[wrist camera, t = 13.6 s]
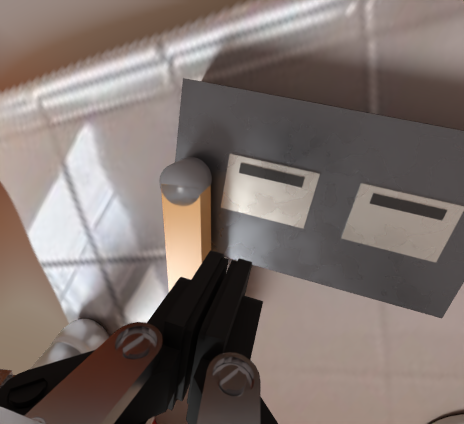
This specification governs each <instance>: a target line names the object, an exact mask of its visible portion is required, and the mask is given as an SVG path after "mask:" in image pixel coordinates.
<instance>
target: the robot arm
mask: <svg viewBox="0 0 464 424" xmlns="http://www.w3.org/2000/svg"><path fill="white" fill-rule="evenodd" d="M227 265H228V259H226V258H224V254H222V253H219V252H215V251H212V250H210V251H209V253H208V255H207V256H206V258H205V259H204V261H203V262H202V264H201V265H200V267H199V268H198V270H197V272H196V273H195V275H194V276H193V278H192V279H191V280H190V279H187V278H184V277H180V278H179V279H178V280H177V282H176V283H175V285H174V286H173V287H172V289H171V290H170V292H169V293H168V294H167V296H166V297H165V299H164V300H163V301H162V303H161V304H160V305H159V307H158V308H157V310H156V311H155V312H154V314H153V315H152V317H151V318H150V319H149V321H148V322H147V323H143V322H136V323H130V324H127V325H125V326H122V327H121V328H120V329H118V330H117V331H116V332H114V333H113V334H112V335H111V336H110V337H109V338H108V339H107V340H106V341H105V342H104V343H103V344H101V345H100V346H99V347H98V348H97V349H96V350H93V351H90V352H86V353H83V354H80V355H76V356H73V357H70V358H66V359H63V360H59V361H56V362H53V363H49V364H46V365H43V366H39V367H36V368H33V369H29V370H27V371H25V372H22V373H19V374H17V375H13V374H12V371H11V370H3V369H0V424H152V423H153V421H154V418H155V416H157V415H159V414H161V413H163V412H166V410H167V409H170V410H172V409H173V407H174V405H175V403H176V400H180V401H183V399H184V397H185V394H186V392H187V389H188V387H189V385H190V387H189V393H188V399H187V403H188V404H189V405H188V411H187V417H186V420H187V422H188V424H278V423H277V421H276V420H275V418H274V417H273V415H272V413H271V412H270V410H269V409H268V407H267V406H266V404H265V403H264V401H263V400H262V398H261V397H260V375H259V372H258V370H257V368H256V366H255V365H254V364H253V362H252V361H251V360H250V358H251V354H252V349H253V345H254V340H255V336H256V331H257V327H258V322H259V317H260V313H261V308H262V304H263V301H260V300H257V299H253V298H250V297H247V296H245V292H246V287H247V283H248V279H249V275H250V270H251V266H252V262H251V261H247V260H244V259H240V258H238V260H237V261H233V260H232V262H231V264H230V266H229V268H228V270H227ZM226 270H227V272H226ZM432 424H464V414H462V415H455V416H450V417H447V418H443V419H440V420H438V421H436V422H434V423H432Z"/></svg>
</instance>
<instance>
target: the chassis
mask: <svg viewBox="0 0 464 424" xmlns="http://www.w3.org/2000/svg"><path fill="white" fill-rule="evenodd" d="M186 157H195V158H198V159H200V160H202V161H203V162H204V163H205V164H206V165H207V166H208V168H209V169H210V172H211V176H212V182H211V250H212V251H215V252H219V253H222V254H224V257H227V258H230V259H234V260H238V258H240V259H244V260H247V261H251V262H252V265H255V266H259V267H262V268H266V269H269V270H273V271H276V272H280V273H283V274H287V275H290V276H294V277H297V278H301V279H304V280H308V281H312V282H315V283H319V284H322V285H326V286H329V287H333V288H336V289H340V290H343V291H347V292H350V293H354V294H357V295H361V296H365V297H368V298H372V299H375V300H379V301H382V302H386V303H389V304H393V305H396V306H400V307H403V308H407V309H411V310H414V311H418V312H421V313H425V314H428V315H432V316H435V317H439V318H442V317H443V316H444V314H445V312H446V311H447V309H448V307H449V306H450V304H451V302H452V301H453V299H454V297H455V296H456V294H457V292H458V291H459V289H460V287H461V286H462V284H463V282H464V131H462V130H457V129H452V128H446V127H441V126H436V125H430V124H425V123H420V122H414V121H409V120H404V119H398V118H393V117H388V116H383V115H377V114H372V113H367V112H361V111H356V110H351V109H345V108H340V107H335V106H329V105H324V104H319V103H313V102H308V101H303V100H297V99H292V98H287V97H281V96H276V95H271V94H266V93H260V92H255V91H250V90H244V89H239V88H234V87H228V86H223V85H218V84H212V83H207V82H202V81H196V80H190V79H184V78H183V84H182V95H181V106H180V116H179V127H178V137H177V148H176V158H175V162H177V161H179V160H182V159H184V158H186Z"/></svg>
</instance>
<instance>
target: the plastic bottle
mask: <svg viewBox="0 0 464 424" xmlns="http://www.w3.org/2000/svg"><path fill="white" fill-rule="evenodd" d="M108 338H109V336H108V333H107V332H106V330H105V329H104V328H103V327H102V326H101V325H100V324H98V323H97V322H95V321H93V320H90V319H80V320H75V321H73V322H72V323H70V324H69V325H67V326H66V327H65V328H63V329H62V330H61V332H60V333H59V334H58V335H57V337H56V338H55V339H54V341H53V342H52V344H51V346H50V347H49V348H48V349H47V350H46V351H45V352H44V353H43V355H42V356H41V357H40V358H39V359H38V360H37V361H36V363H35V364H34V365H33V366H32V367H31V368H30V369H33V368H36V367H39V366H43V365H46V364H49V363H53V362H56V361H59V360H63V359H66V358H70V357H73V356H76V355H80V354H83V353H86V352H90V351H93V350H96V349H97V348H98V347H99V346H100V345H101V344H103V343H104V342H105V341H106V340H107V339H108Z"/></svg>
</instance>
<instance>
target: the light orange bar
mask: <svg viewBox="0 0 464 424" xmlns="http://www.w3.org/2000/svg"><path fill="white" fill-rule="evenodd" d="M211 182H212V176H211V172H210V169H209V168H208V166H207V165H206V164H205V163H204V162H203V161H202V160H200V159H198V158H195V157H186V158H184V159H182V160H179V161H177V162H175V163H173V164H171V165H169V166H167V167H166V168H165V169H164V170H163V172H162V173H161V176H160V188H161V192H162V205H163V219H164V232H165V246H166V259H167V273H168V286H169V292H170V290H171V289H172V287H173V286H174V285H175V283H176V282H177V280H178V279H179V278H180V277H184V278H187V279H190V280H191V279H192V278H193V276H194V275H195V273H196V272H197V270H198V268H199V267H200V265H201V264H202V262H203V261H204V259H205V258H206V256H207V255H208V253H209V251H210V250H211Z"/></svg>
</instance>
